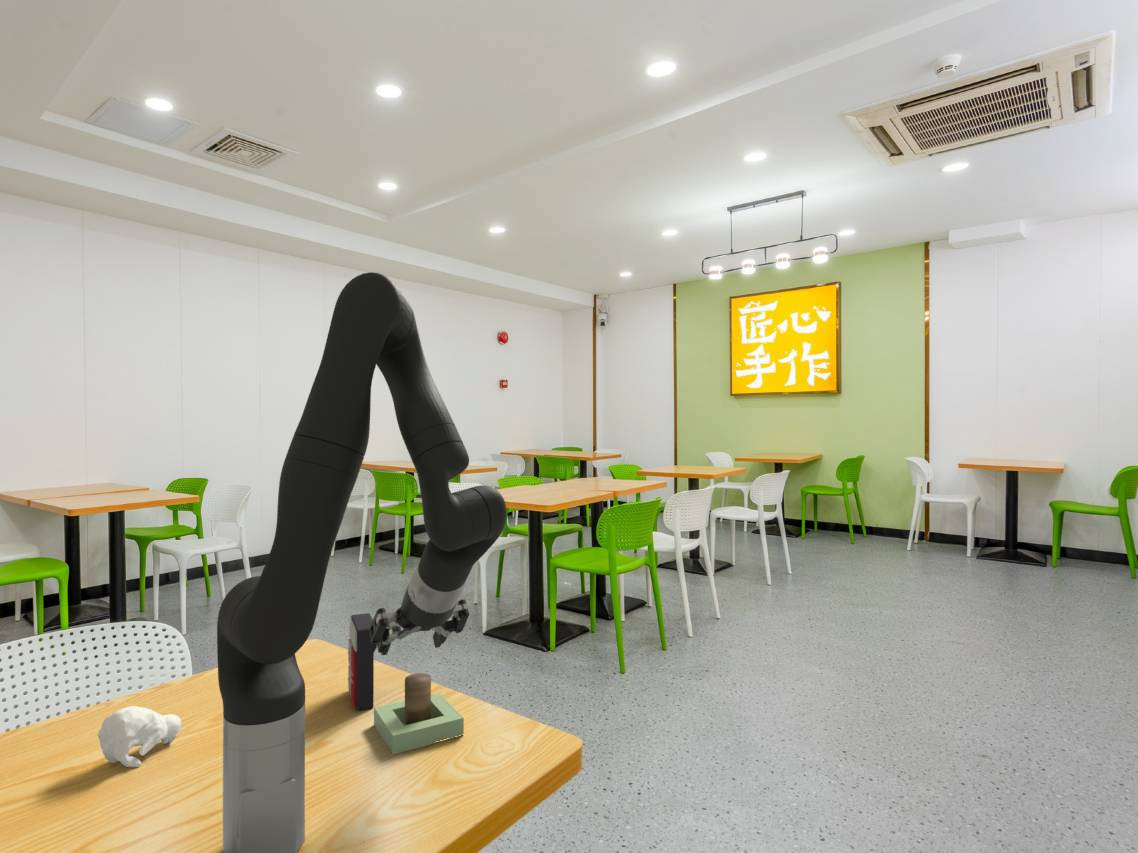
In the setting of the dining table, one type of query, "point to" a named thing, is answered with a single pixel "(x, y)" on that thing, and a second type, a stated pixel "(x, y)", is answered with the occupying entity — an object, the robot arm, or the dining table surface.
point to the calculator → (361, 662)
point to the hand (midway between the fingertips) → (409, 646)
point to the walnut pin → (417, 698)
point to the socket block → (417, 725)
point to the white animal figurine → (135, 733)
